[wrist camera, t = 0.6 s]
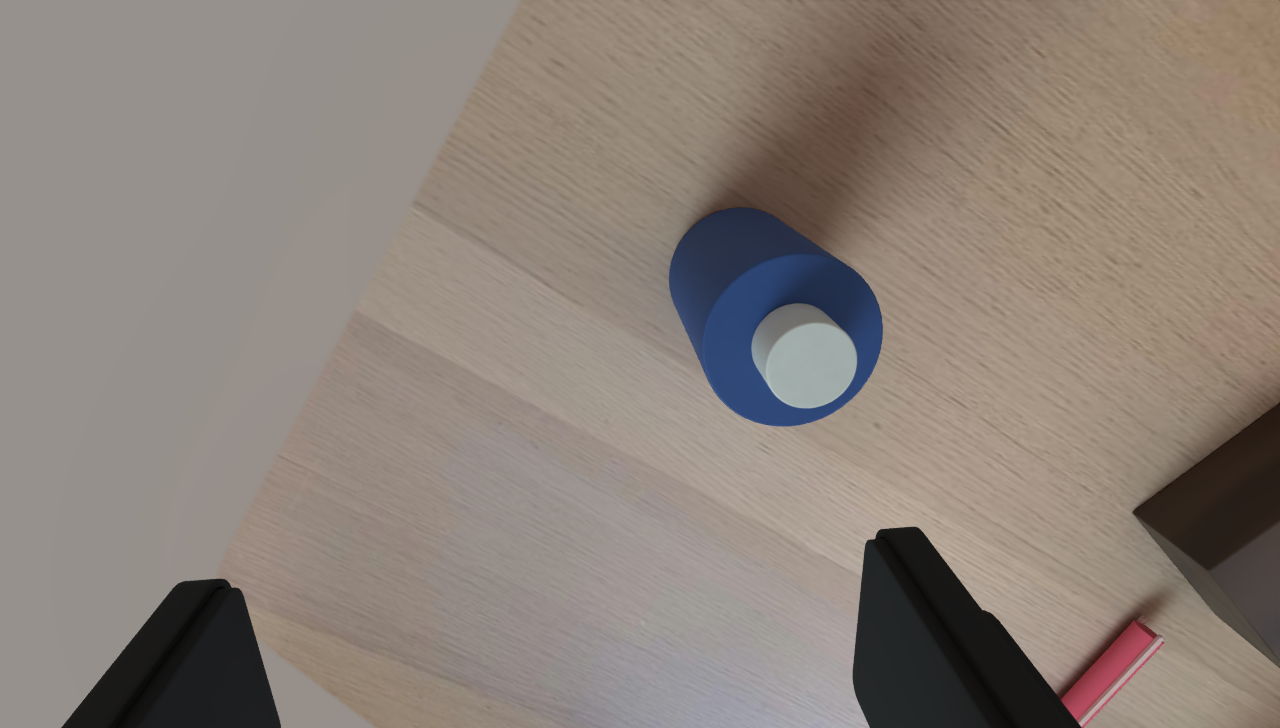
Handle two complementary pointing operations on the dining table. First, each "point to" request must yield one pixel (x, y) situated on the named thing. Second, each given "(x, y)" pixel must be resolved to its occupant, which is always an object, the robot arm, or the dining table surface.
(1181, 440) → the dining table surface
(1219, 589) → the block
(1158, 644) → the pink long slotted bar
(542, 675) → the dining table surface
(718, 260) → the bottle
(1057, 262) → the dining table surface
